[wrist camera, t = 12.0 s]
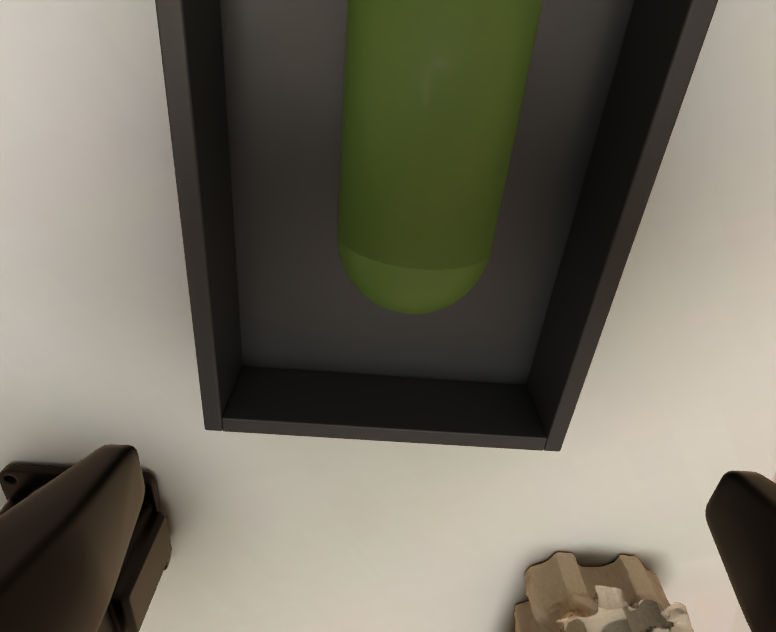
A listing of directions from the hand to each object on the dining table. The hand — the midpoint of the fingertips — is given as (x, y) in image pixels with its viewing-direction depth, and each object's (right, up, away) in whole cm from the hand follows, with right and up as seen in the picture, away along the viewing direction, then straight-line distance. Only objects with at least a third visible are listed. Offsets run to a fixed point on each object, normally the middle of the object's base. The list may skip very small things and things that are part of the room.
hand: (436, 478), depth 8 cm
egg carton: (+10, -14, +21) cm, 27 cm away
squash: (0, +9, +7) cm, 11 cm away
